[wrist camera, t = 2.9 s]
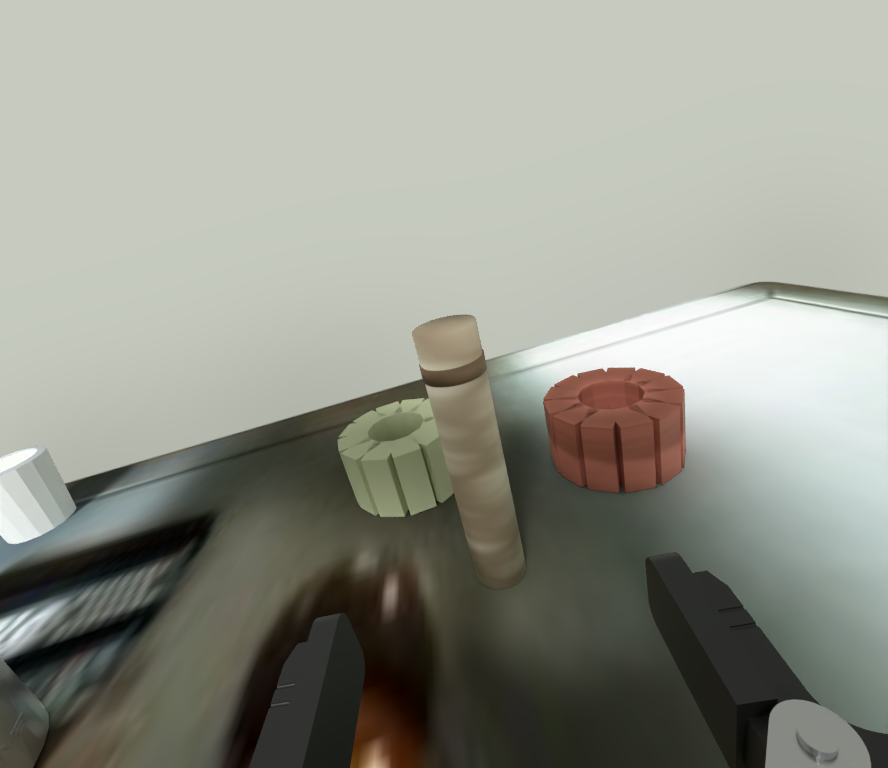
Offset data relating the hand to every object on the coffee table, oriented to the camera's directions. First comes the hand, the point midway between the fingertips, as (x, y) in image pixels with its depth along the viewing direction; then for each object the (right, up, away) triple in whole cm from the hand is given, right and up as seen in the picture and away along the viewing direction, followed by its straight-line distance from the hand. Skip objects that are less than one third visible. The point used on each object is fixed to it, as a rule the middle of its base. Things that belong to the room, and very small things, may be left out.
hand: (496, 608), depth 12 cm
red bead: (+12, +1, +22) cm, 25 cm away
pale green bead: (-4, -2, +25) cm, 25 cm away
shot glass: (-41, -8, +32) cm, 53 cm away
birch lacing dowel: (+2, -5, +14) cm, 15 cm away
